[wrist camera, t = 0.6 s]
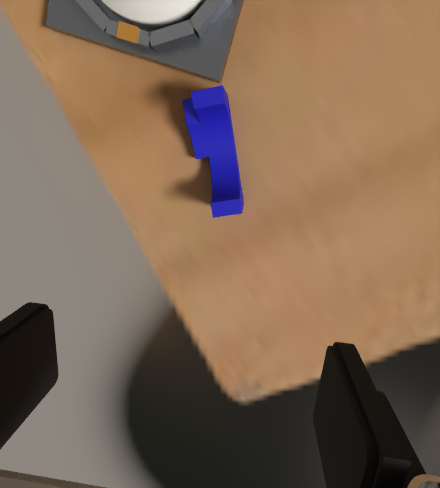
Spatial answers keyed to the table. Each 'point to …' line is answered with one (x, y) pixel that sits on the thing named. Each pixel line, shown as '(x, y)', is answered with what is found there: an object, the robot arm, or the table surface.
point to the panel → (175, 58)
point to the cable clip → (216, 146)
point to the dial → (153, 11)
